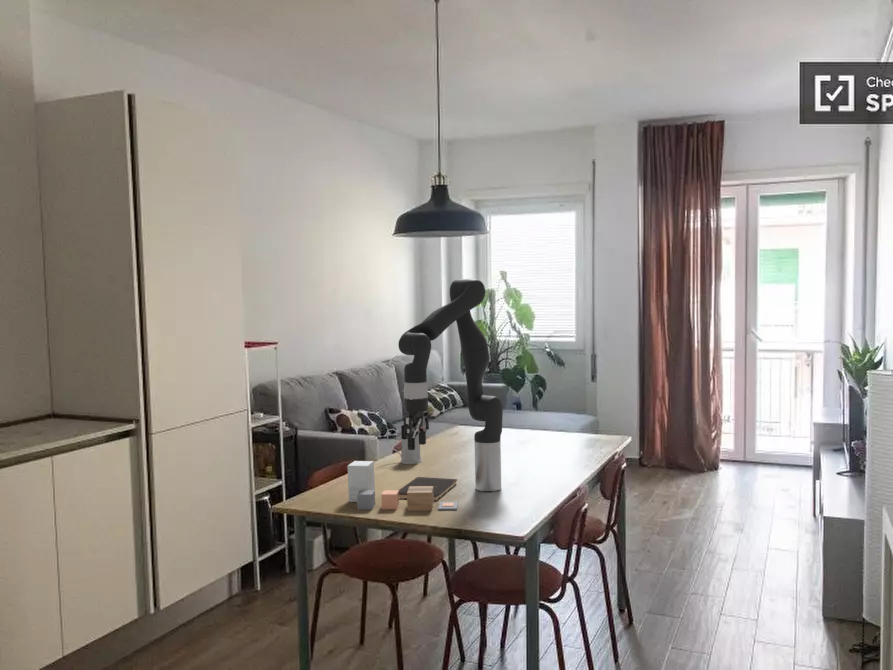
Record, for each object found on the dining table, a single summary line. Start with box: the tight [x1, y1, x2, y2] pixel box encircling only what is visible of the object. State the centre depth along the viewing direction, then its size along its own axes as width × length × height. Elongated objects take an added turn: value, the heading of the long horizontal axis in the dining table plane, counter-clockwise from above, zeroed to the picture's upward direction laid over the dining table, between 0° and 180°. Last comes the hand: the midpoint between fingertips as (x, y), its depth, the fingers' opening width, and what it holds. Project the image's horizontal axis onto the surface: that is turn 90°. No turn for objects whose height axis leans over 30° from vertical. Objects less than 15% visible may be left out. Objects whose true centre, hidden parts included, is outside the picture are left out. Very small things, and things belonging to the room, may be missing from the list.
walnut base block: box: [406, 486, 435, 511], centre depth 249 cm, size 8×8×6 cm
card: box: [437, 500, 459, 511], centre depth 248 cm, size 8×6×1 cm
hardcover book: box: [398, 476, 458, 501], centre depth 269 cm, size 16×23×2 cm
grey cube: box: [356, 489, 376, 510], centre depth 250 cm, size 5×5×5 cm
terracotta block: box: [381, 489, 400, 510], centre depth 249 cm, size 5×5×5 cm
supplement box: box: [347, 460, 376, 503], centre depth 259 cm, size 7×7×13 cm
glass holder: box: [386, 424, 423, 465], centre depth 315 cm, size 9×14×15 cm, turn 88°
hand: (417, 447), depth 240 cm, fingers open, 8 cm apart
